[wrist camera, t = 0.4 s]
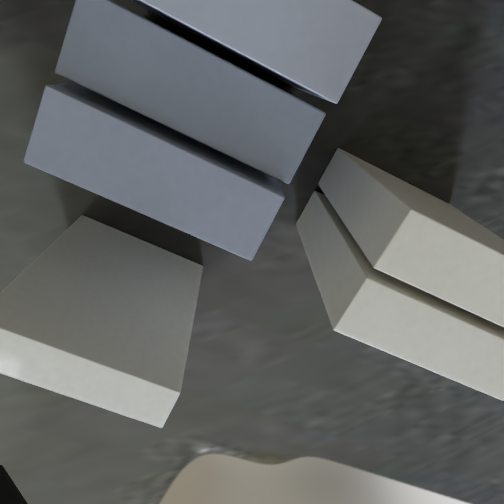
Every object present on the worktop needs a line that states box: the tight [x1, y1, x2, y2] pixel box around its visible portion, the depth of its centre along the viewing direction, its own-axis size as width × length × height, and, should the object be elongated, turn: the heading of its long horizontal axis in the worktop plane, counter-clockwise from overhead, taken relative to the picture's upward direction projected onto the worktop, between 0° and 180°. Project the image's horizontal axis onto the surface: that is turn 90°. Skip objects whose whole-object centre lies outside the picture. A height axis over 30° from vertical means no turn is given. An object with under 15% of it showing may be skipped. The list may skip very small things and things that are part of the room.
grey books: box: [24, 0, 382, 261], centre depth 24 cm, size 12×11×14 cm
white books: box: [296, 148, 504, 401], centre depth 27 cm, size 6×10×15 cm, turn 64°
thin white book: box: [0, 215, 203, 428], centre depth 28 cm, size 2×10×15 cm, turn 64°
